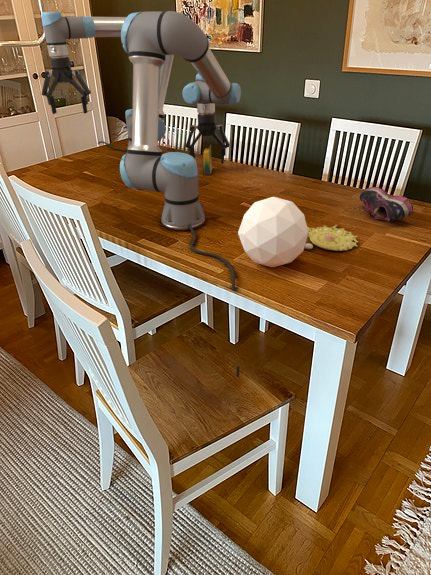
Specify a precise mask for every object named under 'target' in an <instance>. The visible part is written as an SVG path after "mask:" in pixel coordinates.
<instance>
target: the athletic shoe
mask: <svg viewBox="0 0 431 575" xmlns="http://www.w3.org/2000/svg"><path fill="white" fill-rule="evenodd" d="M359 200H360V201H361V202H362V204H363V206H360V207H359V209H361V210H366V211H367V213H368V214H369V216H373V217H374V219H375V220H377V221H386V222H388V223H393V222H396V221H398V220H402V219H404V218H407V217H410V216H412V215H413V214H414V205H413V203H412V201H411V200H409V199H408V197H406V196H404V195H394V196H391V195H389V194H388V192H387V191H386V190H385V189H384V188H380V187H378V186H370V187H366V189H364V190H363V191H362V192H360V195H359Z"/></svg>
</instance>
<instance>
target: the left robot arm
mask: <svg viewBox="0 0 431 575" xmlns="http://www.w3.org/2000/svg"><path fill="white" fill-rule="evenodd" d="M125 18H127V16H86V15H82V16H81V15H78V16H70V15H66V16H63V15H62V12H61V11H60V10H59V11H42V13H41V23H42V28H43V33H44V37H45V41H46V46H47V52H48V56H49V57H50V58H49V62H50V66H51V70H49V69H47V70H45V71H44V81H43V86H42V90H41V96H44V97H46V99H47V103H48V105H49V106H50V108H51V113H52V115H55V114H57V113H58V111H57V107H56V102H55V98H54V96H53V93H54V91H55V90H56V87H57V85H58V84H62V83H65V84H67V83H69V84H70V85H71V86H72V87H73V88H74V89H75V90H76V91H77V92H78V93H79V94H80V95H81V96H80V101H81V106H82V110H83V114H84V115H85V114H87V113H88V107H87V106H88V104H89V98H88V96H89V95H91V94H92V91H91V89H90V88H89V86H88V85H87V83H86V82H85V80H84V78H83V77H82V75H81V71H80V70H79V69H75V70H73V69H72V65H71V60H70V57H69V48H68V43H67V40H76V39H77V40H78V39H79V40H80V39H92V38H121V30H122V25H123V22H124V20H125ZM174 56H175V55H166V58H165V64H164V65H163V66H161V68H160V95H159V123H158V142H159V141H161V140H162V139H163V138H164V137H165V134H166V132H167V126H166V123H165V119H166V118H165V116H166V113H165V112H164V105H165V101H166V96H167V91H168V86H169V81H170V76H171V72H172V71H171V70H172V67H173V62H174V58H175V57H174ZM52 76H53V77H54V79H53V81H52V83H51V85H50V82H51V77H52ZM73 76H74V77H75V78H76V80H77V81H78V82H77V81H76V80H75V79H74V78H73ZM49 86H50V87H49ZM124 113H125V122H126V131H127V138H128V144H127V148H128V147H129V146H130V145H131V144H132V117H133V108H130V109H127V110H125V112H124ZM100 144H104V145H107V146H108V147H109V148H111V149H113V150H117V151H122V152H127V149H125V148H119V147H115V146H112V145H111V143H109V142H106V141H103V140H100V141H98V142H97V145H100Z"/></svg>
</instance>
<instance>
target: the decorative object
mask: <svg viewBox="0 0 431 575" xmlns="http://www.w3.org/2000/svg"><path fill="white" fill-rule="evenodd" d="M307 228H308V231H309V233H308V236H307V238H309V240H310V241H311V243H307V242H306V243H305V247H304V250H313V249H314V245H315V246H316V247H318V248H321V249H324V250H328V251H335V252H341V251H348V250H352V249H354V247H356V248H358V247H359V245H358V244H357V243H359V240H357V238H359V237H358V235H353V234H352V231H347V230H346V229H345V228H344V227H342V228H338V224H335V225H333V226H331V227H328V226H327V225H326V224H325V225H323V226H322V227H321V226H317V227H316V228H314V227H309V226H307ZM313 244H314V245H313Z"/></svg>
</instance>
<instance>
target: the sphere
mask: <svg viewBox="0 0 431 575" xmlns="http://www.w3.org/2000/svg"><path fill="white" fill-rule="evenodd" d="M307 227H308V224H307V220H306V217H305V214H304V213H303V211H302V210H300V208H299V207H298V206H297V204H295V203H294V202H293V201H291V200H288V199H283V198H280V197H276V196H271V197H268V198H264V199H261V200H258V201H254V202H253V203H252V205H251V206H250V207H249V209H248V210H246V211H245V213H244V214H243V217H242V220H241V224H240V226H239V228H238V231H237V234H238V238H239V240H240V242H241V245H242V248H243V251H244V253H245V254H246V255H247V256H248V257H249V258H250V259H251V261H252V262H253V263H255V264H259V265H262V266H266V267H269V268H276V267H279V266H283V265H286V264H290V263H293V262H294V260H295V259H297V258H298V257H299V256H300V255H301V254H302V253H303V252H304V250H305V248H304V247H305V244H306V243H307V239H308V234H309V231H308V228H307Z"/></svg>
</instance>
